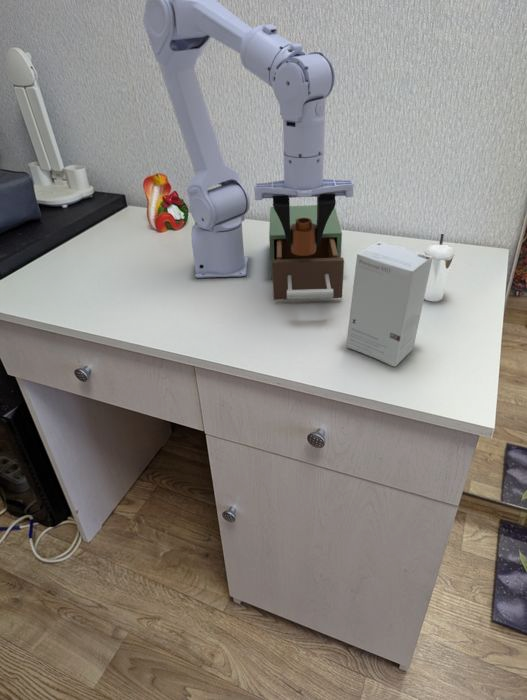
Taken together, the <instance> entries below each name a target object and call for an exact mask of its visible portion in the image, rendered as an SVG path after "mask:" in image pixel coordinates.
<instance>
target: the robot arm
mask: <svg viewBox="0 0 527 700" xmlns="http://www.w3.org/2000/svg"><path fill="white" fill-rule="evenodd" d="M142 22H143V25H144V28H145V31H146V34H147V37H148V40H149V43H150V47H151V49H152V52H153V55H154V59H155V61H156V62H157V63H158V66H159V69H160V73H161V75H162V79H163V82H164V85H165V87H166V90H167V94H168V97H169V99H170V102H171V105H172V108H173V111H174V115H175V117H176V120H177V124H178V126H179V129H180V132H181V136H182V138H183V141H184V144H185V147H186V150H187V153H188V156H189V160H190V162H191V164H192V168H193V170H194V176H193V178H192V179H191V181H190V183H189V185H188V186H187V189H186V192H187V196H188V198H189V210H190V214H191V218H192V219H193V221H194V222H195V224H193V225H192V226H191V248H192V255H193V262H194V270H195V278H199V279H200V278H201V279H202V278H233V277H236V278H237V277H246V276H247V269H248V263H249V257H248V256H245V249H244V235H243V222H244V221H245V215H246V214H247V213H248V212H249V210H250V206H251V199H250V196H249V193H248V190H247V188H246V187H245V185H244V184H243V183H242V180H241V178H240V174H239V172H238V171H236V170H235V169H233V168H231V167H229V166H228V165H226V164H225V162H224V158H223V155H222V152H221V149H220V145H219V142H218V139H217V136H216V133H215V129H214V126H213V123H212V120H211V117H210V114H209V113H210V112H209V110H208V107H207V103H206V100H205V97H204V94H203V90H202V88H201V85H200V82H199V78H198V74H197V72H196V69H195V65H196V63H197V60H198V58H199V57H201V56H202V55H203V52H204V50H205V49H206V47H207V45H208V43H209V42H210V40H211V39H214V40H216V41H217V42H219V43H221V44H222V45H224V46H226V47H227V48H229V49H231V50H233V51H235V52H236V53H238V54H239V56H240V57H239V58H240V62H241V64H242V66H243V68H244V69H245V70H246V71H249V72H250V73H251V74H253V75H254V76H256V78H259V80H261V81H263V82H264V83H265V84H267V85H268V86H270V87H271V88H272V90H273V94H274V96H275V98H276V100H277V103H278V105H279V116H281V120H282V133H283V134H282V137H283V138H282V139H283V140H282V141H283V143H282V144H283V180H276V181H268V182H261V183H259V182H258V183H254V201H262V200H264V199H272V207H274V210H275V212H276V213H277V215H278V217H279V219H280V221H281V224H282V226H283V229H284V232H285V236H286V241H287V245H291V228H290V206H291V205H290V198H292V199H293V198H294V199H295V198H316V199H317V200H316V205H317V225H316V226H317V236H316V244H321V239H322V235H323V231H324V228H325V225H326V223H327V221H328V219H329V216H330V215H331V213H332V211H333V209H334V207H335V208H336V202H337V200H336V197H346V198H353V197H354V185H355V184H354V182H353V179H348V180H347V179H331V178H324V160H325V159H324V158H325V157H324V156H325V155H324V154H325V124H326V122H325V121H326V98H328V97H329V96H330V95H331V94H332V91H333V90H334V86H335V79H336V77H335V76H336V75H335V69H334V66H333V63H332V62H331V60H330V59H329V58H328V56H326V55H325V54H324V52H322V51H311V52H309V53H306V52H305V50H303V46H302V45H301V44H300V43H298V42H291V41H290V40H289V39H288V40H287V39H286V38H285V37H283V36H281V35H280V34H279V33H278V27H277V26H275V25H273V24H271V23H269V24H263V25H257V26H255V27H253V28H252V27H251V26H250V25H248V24H247V23H246V22H244V21H243V20H242V19H241V18H239V17H238V16H237V15H235V13H233V12H231V10H229V9H227V7H225V6H224V5H223V4H221V3H220V2H219V0H146V2H145V7H144V13H143V19H142ZM217 185H219V186H217ZM213 186H217V187H213ZM211 187H213V188H211ZM210 188H211V189H210Z"/></svg>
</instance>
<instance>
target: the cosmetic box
mask: <svg viewBox="0 0 527 700" xmlns="http://www.w3.org/2000/svg"><path fill="white" fill-rule="evenodd" d="M431 263H432V257H431V256H428V255H425V253H421V252H417V251H415V250H411V249H409V248H406V247H404V246H399V245H393V244H389V243H386V242H382V241H378V240H377V241H376V242H374V243H372V244H371V245H369V246H367V247H366V248H364V249H363V250H360V251H359V252H357V254H356V262H355V268H354V269H355V271H354V277H353V286H352V295H351V302H350V310H349V320H348V329H347V336H346V347H347V348H348V349H350V350H353V351H356V352H358V353H361V354H363V355H366V356H368V357H371V358H374V359H376V360H378V361H380V362H382V363H385V364H387V365H389V366H391V367H397V365H398V364H400V363H401V362H402V361H403V360H404V359H405V358H406V357H407V356H408V355H409V354H410V353H411V352H412V351H414V348H415V342H416V337H417V333H418V329H419V323H420V319H421V314H422V310H423V306H424V300H425V299H424V296H425V291H426V287H427V282H428V277H429V273H430V268H431Z"/></svg>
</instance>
